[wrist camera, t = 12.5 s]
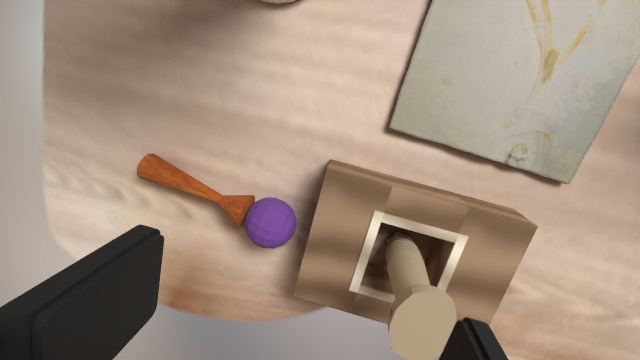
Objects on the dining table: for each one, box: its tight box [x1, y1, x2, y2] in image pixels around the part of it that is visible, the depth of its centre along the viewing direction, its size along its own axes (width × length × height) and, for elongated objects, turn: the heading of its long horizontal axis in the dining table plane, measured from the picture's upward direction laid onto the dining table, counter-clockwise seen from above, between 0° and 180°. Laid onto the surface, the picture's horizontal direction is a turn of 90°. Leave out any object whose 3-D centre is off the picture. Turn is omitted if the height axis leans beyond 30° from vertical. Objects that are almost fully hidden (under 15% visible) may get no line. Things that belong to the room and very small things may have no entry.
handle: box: [386, 232, 457, 360], centre depth 31 cm, size 5×6×15 cm
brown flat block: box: [293, 160, 538, 325], centre depth 36 cm, size 16×22×5 cm
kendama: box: [137, 154, 296, 248], centre depth 37 cm, size 6×6×20 cm
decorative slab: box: [389, 0, 640, 184], centre depth 31 cm, size 27×21×2 cm
